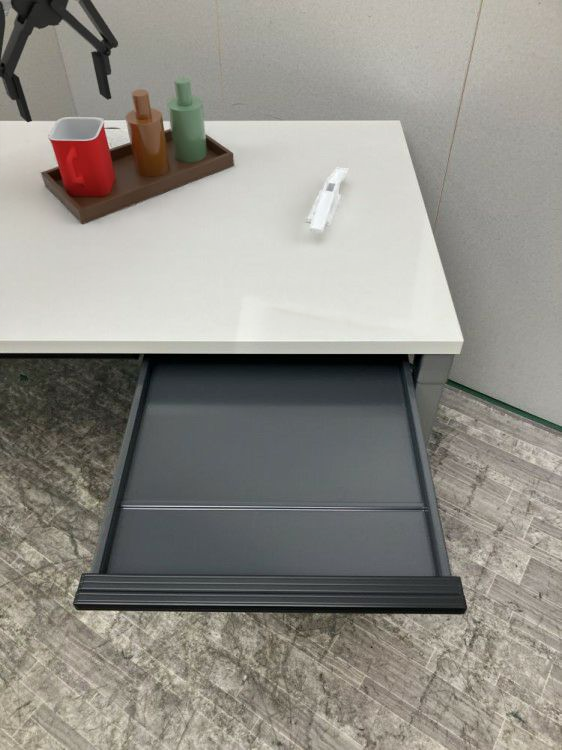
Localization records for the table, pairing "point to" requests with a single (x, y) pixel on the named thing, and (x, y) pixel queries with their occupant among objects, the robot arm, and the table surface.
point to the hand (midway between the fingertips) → (67, 107)
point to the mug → (83, 156)
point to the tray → (138, 180)
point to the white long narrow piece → (326, 201)
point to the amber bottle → (147, 137)
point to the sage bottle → (187, 123)
